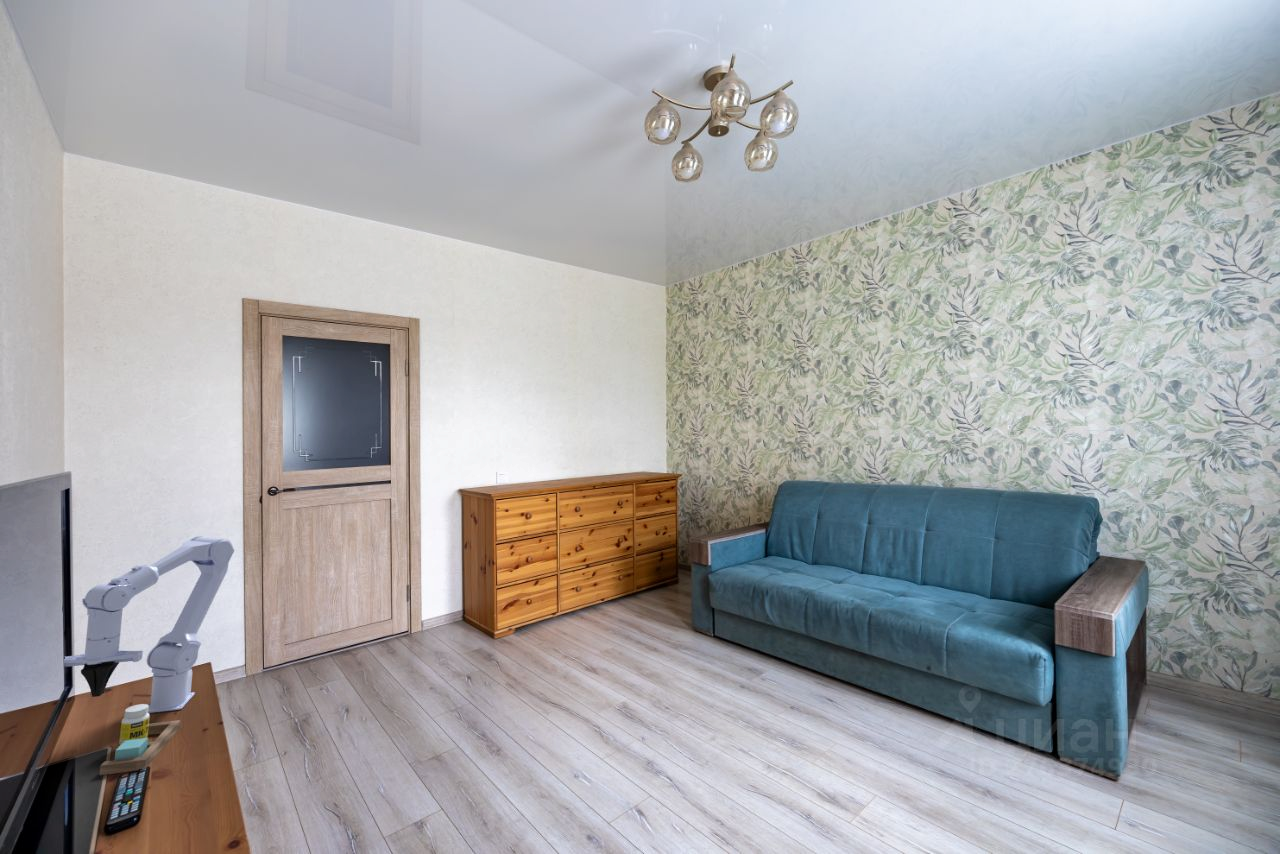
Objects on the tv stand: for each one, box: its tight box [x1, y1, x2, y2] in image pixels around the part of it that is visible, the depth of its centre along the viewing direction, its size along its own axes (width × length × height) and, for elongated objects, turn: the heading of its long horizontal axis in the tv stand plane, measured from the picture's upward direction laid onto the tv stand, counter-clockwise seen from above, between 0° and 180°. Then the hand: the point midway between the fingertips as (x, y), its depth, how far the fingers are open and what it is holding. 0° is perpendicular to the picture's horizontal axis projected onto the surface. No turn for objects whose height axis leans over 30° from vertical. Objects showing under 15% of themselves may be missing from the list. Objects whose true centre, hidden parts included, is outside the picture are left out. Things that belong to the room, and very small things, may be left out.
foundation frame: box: [98, 719, 181, 776], centre depth 121 cm, size 18×8×2 cm, turn 22°
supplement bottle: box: [118, 703, 151, 747], centre depth 123 cm, size 5×5×8 cm
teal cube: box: [114, 737, 149, 760], centre depth 116 cm, size 4×4×4 cm
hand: (97, 694), depth 125 cm, fingers closed
